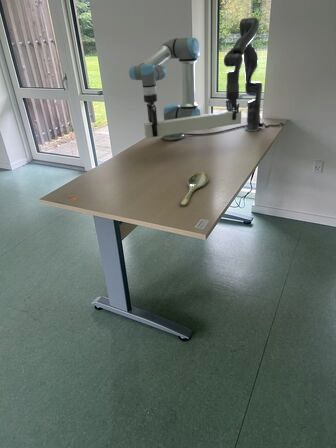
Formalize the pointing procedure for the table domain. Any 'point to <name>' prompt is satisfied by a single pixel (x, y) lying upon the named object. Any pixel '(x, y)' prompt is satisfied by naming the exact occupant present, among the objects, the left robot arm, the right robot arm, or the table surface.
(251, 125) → the right robot arm
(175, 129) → the beam
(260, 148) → the table surface
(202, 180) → the spoon
